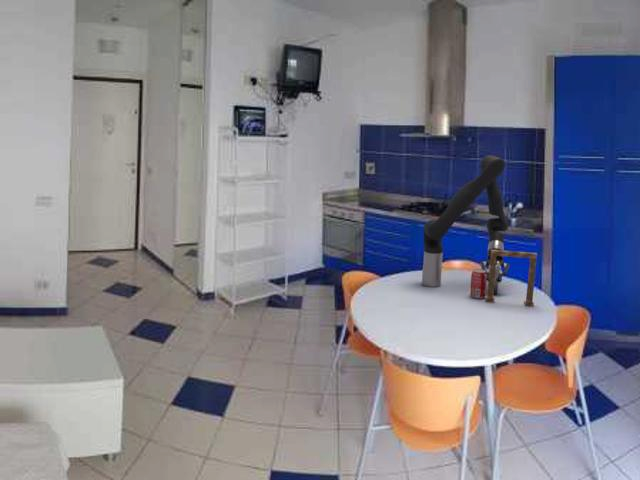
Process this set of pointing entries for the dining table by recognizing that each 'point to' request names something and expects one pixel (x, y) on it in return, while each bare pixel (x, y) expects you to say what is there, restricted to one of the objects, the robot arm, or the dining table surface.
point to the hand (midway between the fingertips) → (493, 281)
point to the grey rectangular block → (496, 279)
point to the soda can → (478, 283)
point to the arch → (530, 277)
